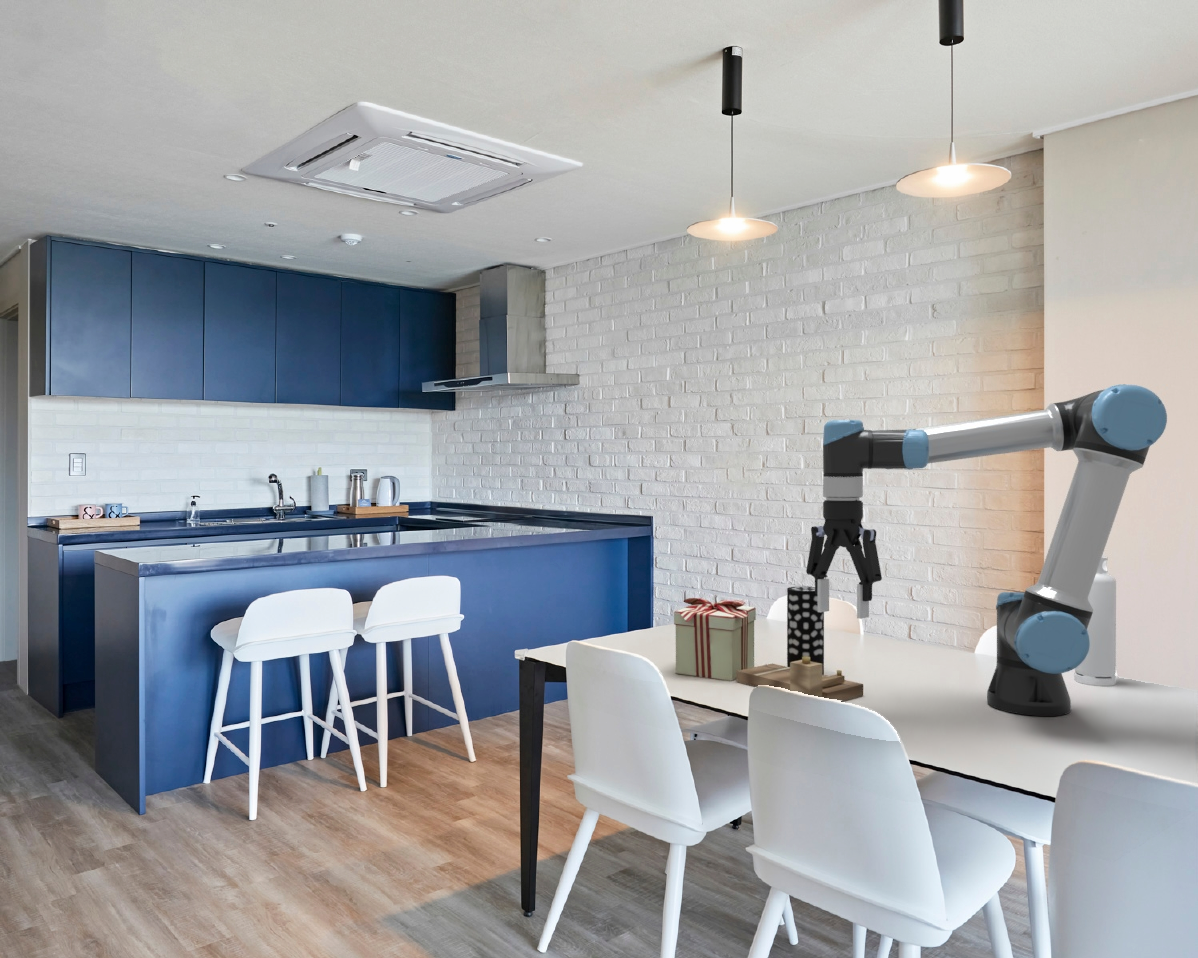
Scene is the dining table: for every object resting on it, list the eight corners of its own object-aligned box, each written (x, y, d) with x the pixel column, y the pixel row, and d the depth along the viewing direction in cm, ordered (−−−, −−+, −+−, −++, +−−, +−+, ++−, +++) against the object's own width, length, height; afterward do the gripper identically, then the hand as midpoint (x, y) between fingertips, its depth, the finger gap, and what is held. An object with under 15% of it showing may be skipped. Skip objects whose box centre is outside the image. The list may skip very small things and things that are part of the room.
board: (863, 695, 187) (863, 683, 187) (827, 705, 180) (827, 692, 180) (772, 674, 207) (772, 663, 207) (736, 681, 200) (736, 670, 200)
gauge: (850, 695, 186) (850, 651, 186) (809, 706, 178) (809, 660, 178) (831, 690, 190) (831, 648, 190) (790, 701, 182) (790, 656, 182)
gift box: (667, 677, 204) (667, 603, 204) (694, 661, 221) (694, 592, 220) (740, 685, 197) (739, 607, 196) (761, 668, 213) (761, 596, 213)
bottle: (1081, 675, 205) (1081, 554, 205) (1120, 681, 199) (1121, 556, 199) (1069, 681, 199) (1069, 557, 199) (1109, 687, 193) (1109, 559, 193)
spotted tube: (824, 679, 201) (824, 591, 201) (787, 678, 203) (787, 590, 203) (823, 671, 210) (823, 587, 209) (787, 669, 211) (787, 586, 211)
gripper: (902, 500, 167) (902, 619, 168) (811, 497, 184) (811, 605, 185) (878, 501, 163) (878, 624, 163) (787, 498, 180) (787, 609, 180)
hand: (842, 614), depth 174 cm, fingers open, 9 cm apart
